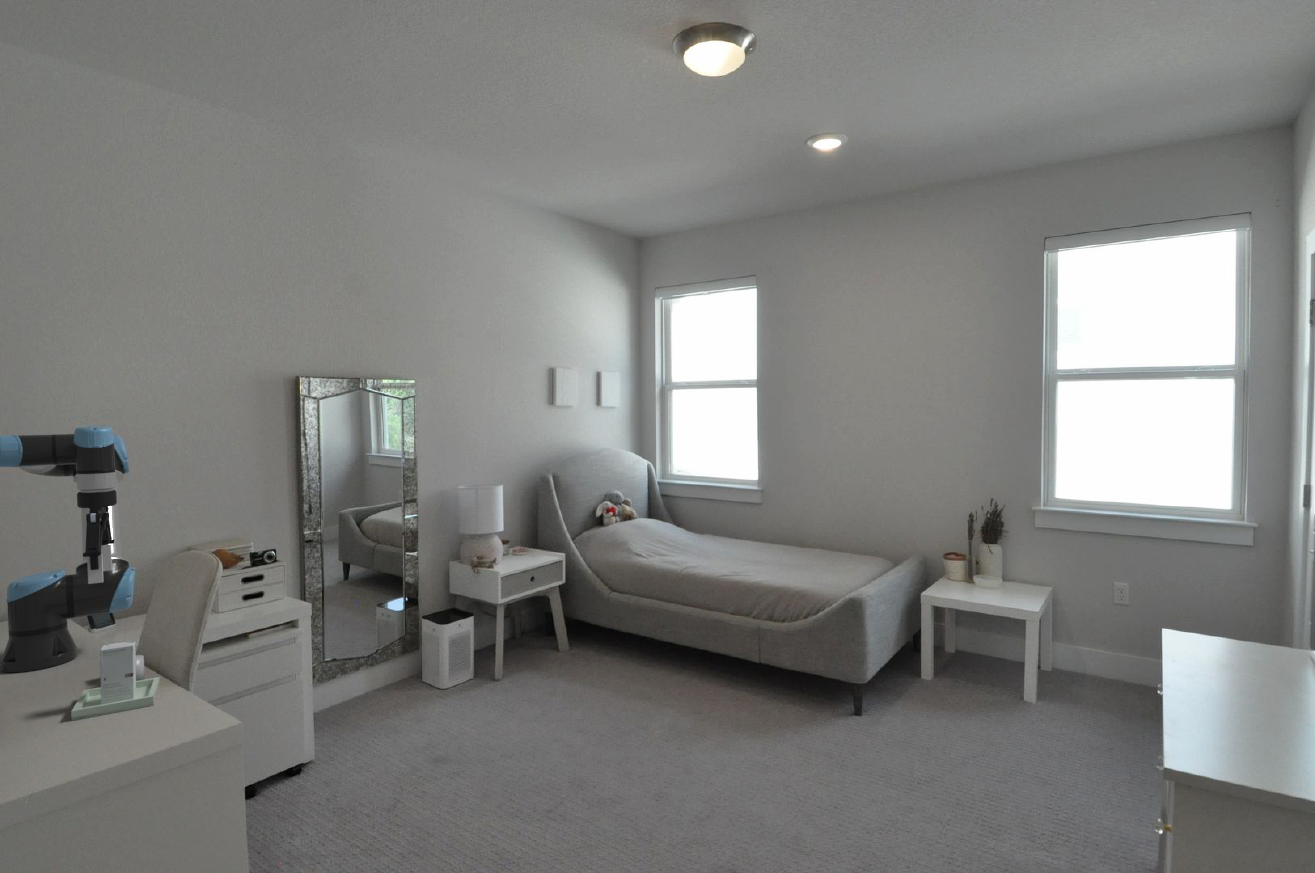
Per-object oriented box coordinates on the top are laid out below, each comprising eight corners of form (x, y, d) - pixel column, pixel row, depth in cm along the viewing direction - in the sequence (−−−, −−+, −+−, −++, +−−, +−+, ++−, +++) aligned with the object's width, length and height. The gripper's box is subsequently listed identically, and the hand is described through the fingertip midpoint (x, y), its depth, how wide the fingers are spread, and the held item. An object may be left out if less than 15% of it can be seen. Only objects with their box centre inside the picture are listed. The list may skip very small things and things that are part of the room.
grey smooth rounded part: (120, 681, 169) (119, 657, 169) (145, 677, 171) (144, 653, 171) (117, 688, 164) (116, 663, 164) (143, 683, 167) (142, 659, 167)
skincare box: (100, 705, 153) (97, 650, 153) (103, 698, 157) (101, 644, 157) (135, 698, 156) (133, 645, 156) (137, 692, 160) (135, 639, 160)
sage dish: (84, 698, 159) (84, 689, 159) (159, 685, 166) (159, 676, 166) (71, 720, 147) (71, 711, 147) (153, 705, 154) (153, 696, 154)
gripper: (86, 485, 178) (90, 568, 179) (66, 497, 157) (70, 590, 158) (123, 483, 182) (126, 564, 183) (108, 494, 161) (112, 585, 162)
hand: (100, 576), depth 171 cm, fingers open, 13 cm apart
